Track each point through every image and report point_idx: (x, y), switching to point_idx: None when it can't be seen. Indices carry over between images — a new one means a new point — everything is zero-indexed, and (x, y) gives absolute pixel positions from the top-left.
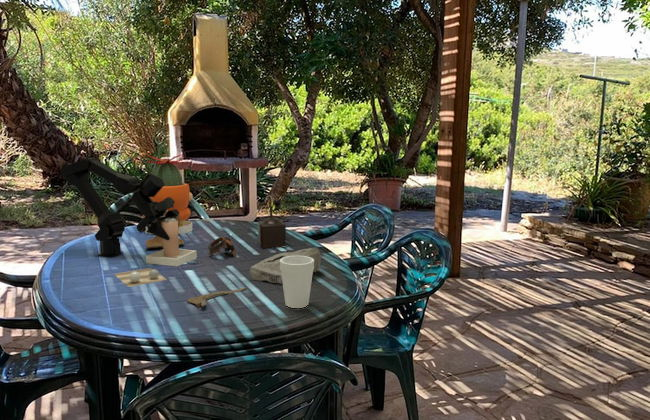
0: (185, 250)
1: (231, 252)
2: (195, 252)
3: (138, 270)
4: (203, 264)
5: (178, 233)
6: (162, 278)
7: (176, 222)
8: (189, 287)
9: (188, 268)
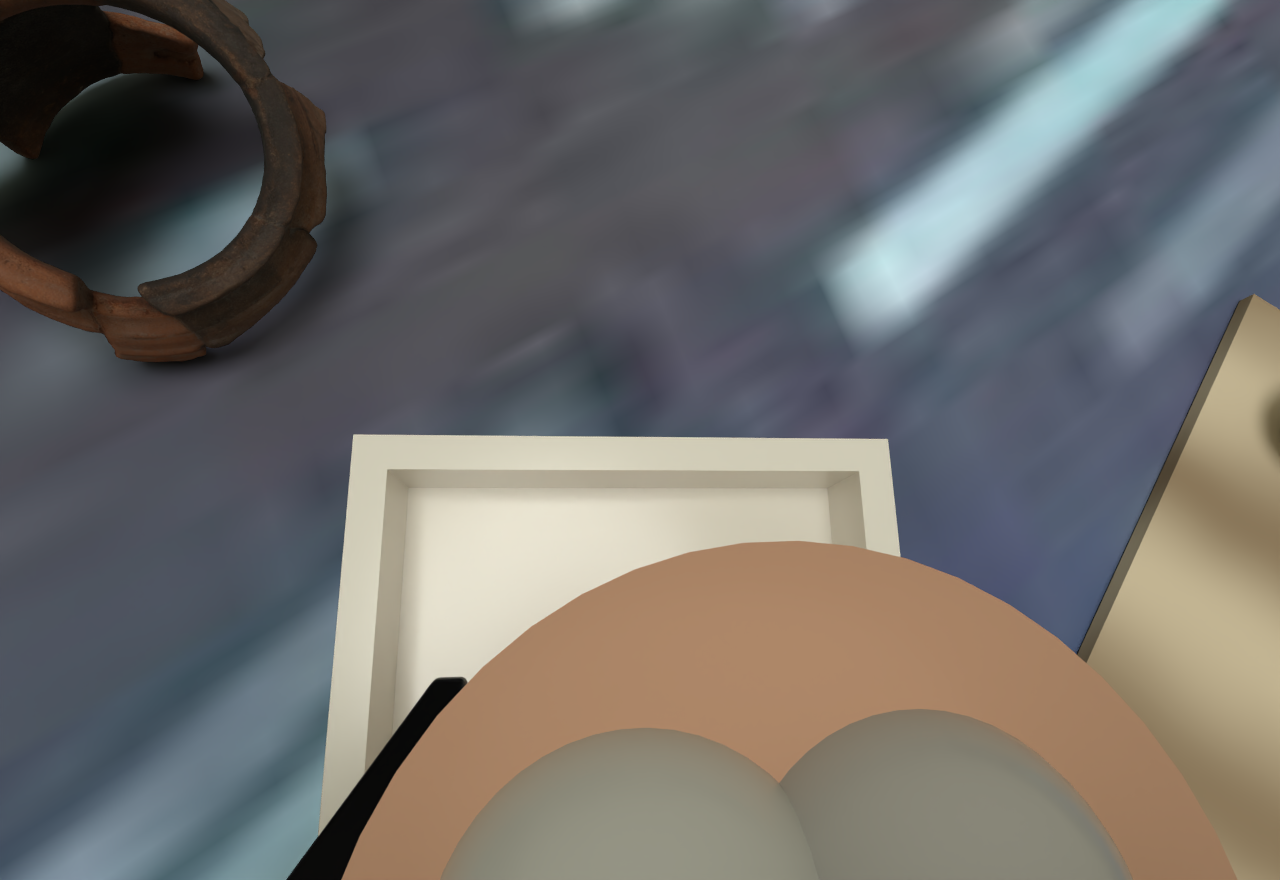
0: (375, 626)
1: (24, 149)
2: (394, 440)
3: None
4: (605, 259)
5: (433, 706)
6: (1255, 356)
7: (780, 543)
8: (1247, 53)
9: (807, 334)
